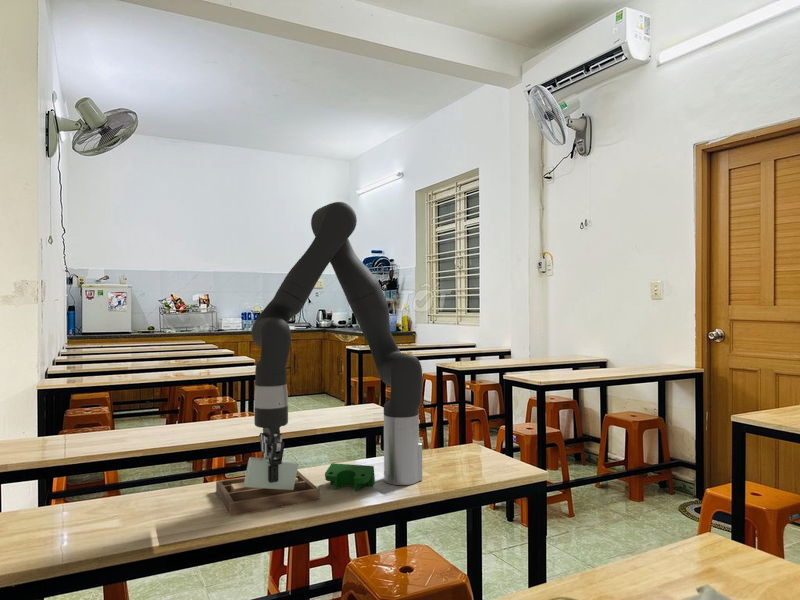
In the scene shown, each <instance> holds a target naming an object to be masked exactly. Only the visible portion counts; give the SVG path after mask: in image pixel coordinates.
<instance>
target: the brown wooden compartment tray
mask: <svg viewBox="0 0 800 600" xmlns="http://www.w3.org/2000/svg"><path fill="white" fill-rule="evenodd" d="M296 478H297V479H298V482H295V484H294V489H293V490H284V489H269V488H256V489H249V490H243V491H236V492H231V484H235V483H242V482H244V480H245V476H243V477H237V478H229V479H223V480H222V479H221V480H216V481H215V484H216V485H215V491H216V494H217V496H218V497H219V499H220V501H221V503H222V505H223V506H224V508H225V510H226V511H227V514H228V515H229V517H231V516H232V517H233V516H238V515H243V514H250V513H254V512H260V511H267V510H272V509H273V510H274V509H278V508H279V509H280V508H284V507H290V506H295V505H301V504H302V505H303V504H307V503H313V502H319V501H320V489H319V488H318V487H317V486H316V485H315V484H313V483H312V482H311V481H310V480H309V479H308V478H307V477H306V476H305V475H303V474H302V473H301V472H299V470H297V474H296Z"/></svg>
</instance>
